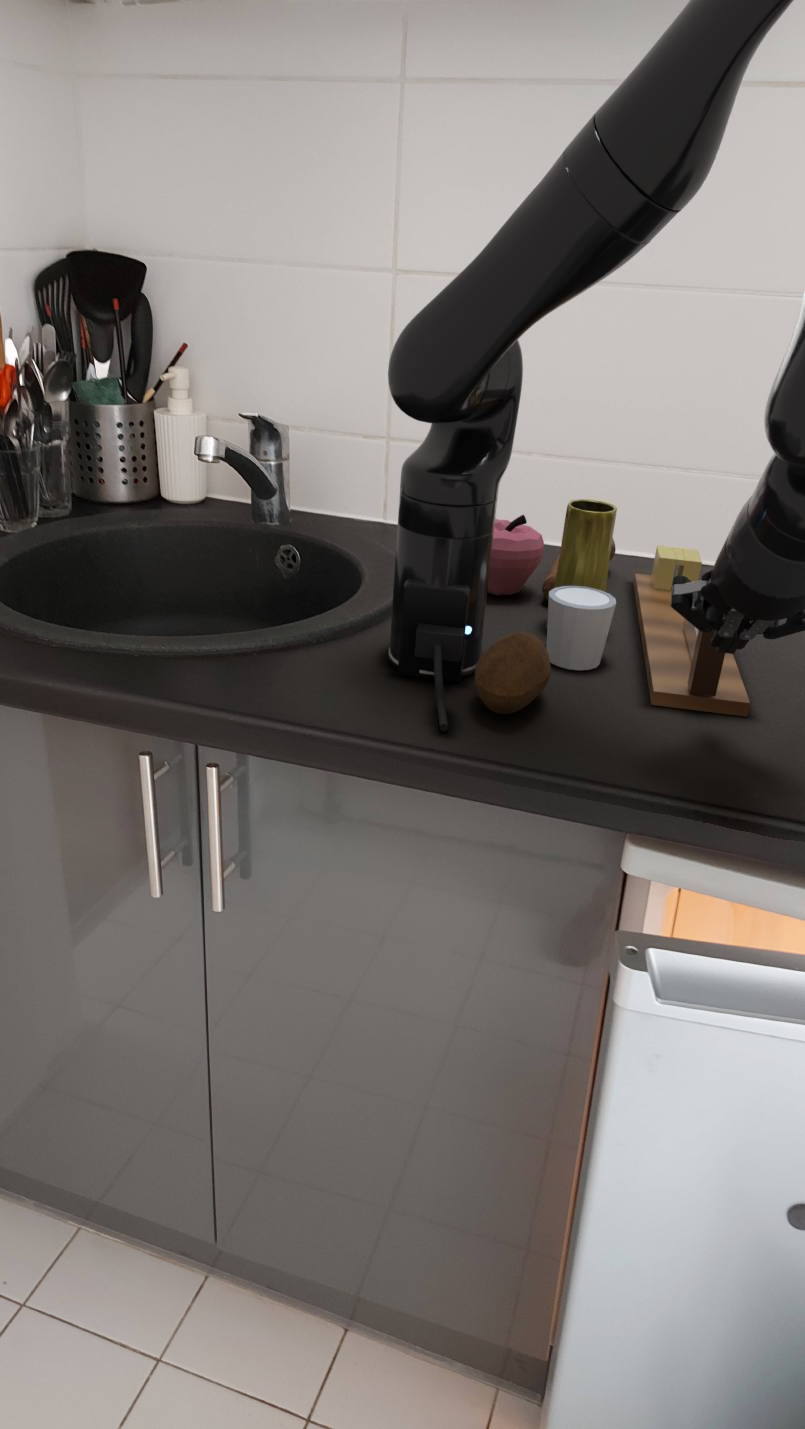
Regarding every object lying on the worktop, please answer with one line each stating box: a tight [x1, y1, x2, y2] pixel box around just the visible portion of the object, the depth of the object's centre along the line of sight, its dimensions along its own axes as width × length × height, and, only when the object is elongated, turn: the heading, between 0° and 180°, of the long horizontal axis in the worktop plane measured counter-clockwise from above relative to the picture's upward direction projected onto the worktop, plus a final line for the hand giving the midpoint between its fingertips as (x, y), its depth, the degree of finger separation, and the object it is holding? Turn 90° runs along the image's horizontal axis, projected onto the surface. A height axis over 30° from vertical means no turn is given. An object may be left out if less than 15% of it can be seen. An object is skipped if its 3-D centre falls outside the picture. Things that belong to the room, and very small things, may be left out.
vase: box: [546, 498, 618, 629], centre depth 109 cm, size 6×6×14 cm
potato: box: [474, 630, 552, 715], centre depth 93 cm, size 7×12×7 cm, turn 164°
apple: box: [487, 514, 545, 597], centre depth 120 cm, size 10×9×10 cm
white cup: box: [546, 586, 617, 671], centre depth 104 cm, size 7×7×7 cm
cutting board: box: [632, 572, 751, 718], centre depth 112 cm, size 36×9×2 cm, turn 171°
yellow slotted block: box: [650, 545, 703, 591], centre depth 124 cm, size 5×5×4 cm
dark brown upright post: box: [683, 618, 725, 696], centre depth 101 cm, size 18×2×9 cm, turn 171°
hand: (724, 643), depth 88 cm, fingers closed
